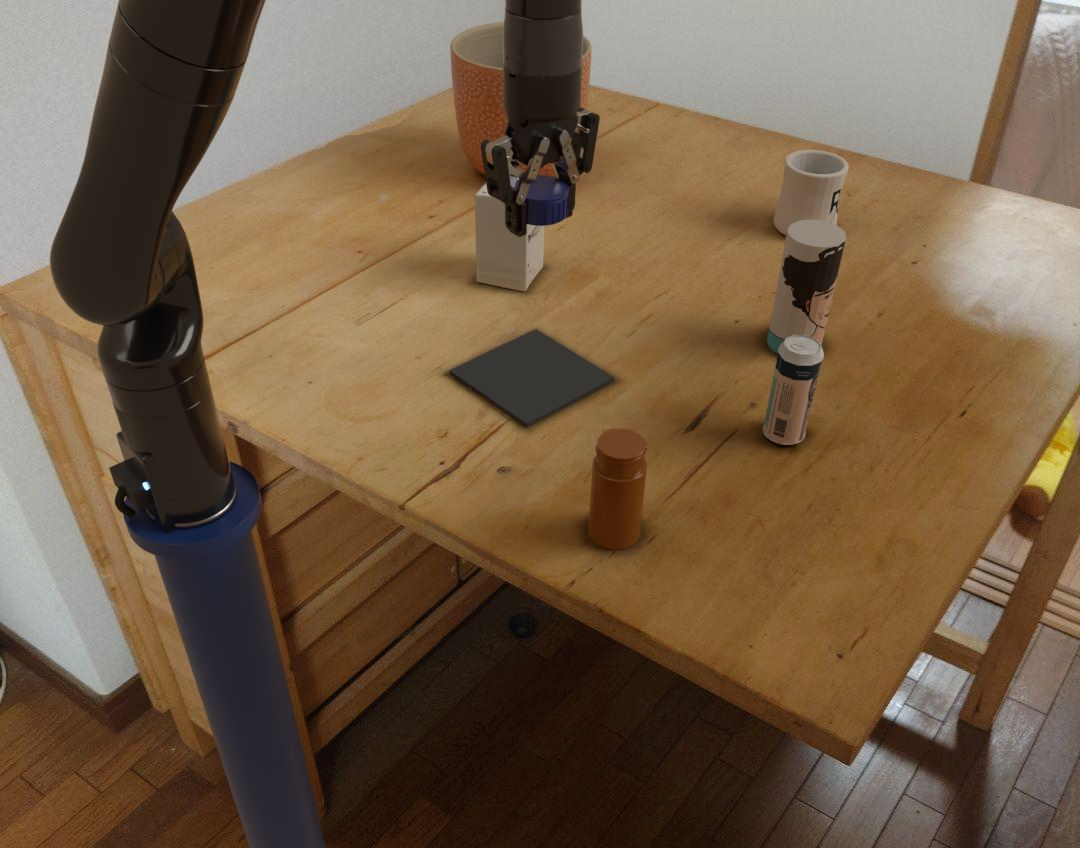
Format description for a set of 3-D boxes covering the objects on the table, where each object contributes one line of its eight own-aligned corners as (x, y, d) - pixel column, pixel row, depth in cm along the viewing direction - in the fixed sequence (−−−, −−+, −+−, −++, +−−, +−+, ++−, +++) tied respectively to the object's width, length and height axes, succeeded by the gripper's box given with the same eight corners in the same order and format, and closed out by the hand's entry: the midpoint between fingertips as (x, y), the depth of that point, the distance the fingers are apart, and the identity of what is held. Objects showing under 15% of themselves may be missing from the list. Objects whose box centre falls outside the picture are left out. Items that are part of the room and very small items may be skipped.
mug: (830, 247, 152) (845, 180, 145) (767, 237, 154) (779, 170, 147) (841, 210, 161) (856, 145, 154) (781, 200, 163) (793, 136, 156)
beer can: (812, 444, 119) (833, 353, 111) (773, 451, 118) (792, 360, 110) (792, 419, 123) (812, 329, 114) (754, 426, 121) (772, 335, 113)
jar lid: (509, 201, 113) (509, 175, 111) (564, 199, 114) (565, 174, 112) (513, 227, 109) (513, 201, 107) (571, 225, 109) (572, 199, 108)
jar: (614, 557, 106) (621, 468, 98) (577, 530, 108) (582, 441, 100) (650, 534, 108) (660, 444, 100) (613, 508, 111) (621, 419, 103)
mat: (526, 428, 121) (526, 423, 120) (449, 374, 128) (449, 370, 128) (614, 381, 128) (614, 376, 127) (536, 332, 135) (536, 328, 135)
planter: (428, 175, 167) (421, 49, 154) (506, 131, 180) (505, 11, 167) (536, 211, 159) (538, 81, 146) (610, 163, 171) (618, 39, 158)
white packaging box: (526, 293, 142) (526, 203, 133) (474, 282, 144) (472, 193, 135) (545, 267, 147) (547, 179, 138) (495, 257, 149) (494, 170, 140)
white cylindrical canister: (806, 364, 131) (831, 253, 120) (757, 346, 134) (777, 235, 123) (829, 340, 135) (855, 230, 124) (781, 323, 138) (802, 214, 127)
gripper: (571, 31, 106) (566, 192, 118) (458, 64, 99) (464, 232, 111) (624, 52, 102) (614, 216, 114) (510, 88, 95) (511, 259, 107)
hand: (540, 223), depth 112 cm, fingers closed on jar lid, 5 cm apart
